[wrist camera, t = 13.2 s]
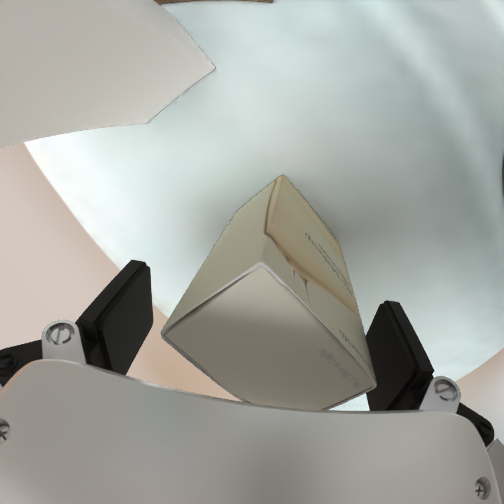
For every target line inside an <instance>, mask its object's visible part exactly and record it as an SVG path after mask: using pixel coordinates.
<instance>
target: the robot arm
mask: <svg viewBox="0 0 504 504" xmlns="http://www.w3.org/2000/svg"><path fill="white" fill-rule="evenodd" d="M152 325H153V309H152V294H151V274H150V267H149V266H147V265H146V263H145V262H142V261H137V260H131V261H130V262H129V263H128V264H127V265H126V266H125V267H124V268H123V269H122V270H121V271H120V273H119V274H118V275H117V276H116V277H115V278H114V279H113V280H112V281H111V282H110V283H109V284H108V285H107V286H106V288H105V289H104V290H103V291H102V292H101V293H100V294H99V295H98V297H97V298H96V299H95V300H94V301H93V302H92V303H91V305H90V306H89V307H88V308H87V309H86V310H85V311H84V312H83V314H82V315H81V316H80V317H79V319H78V320H77V321H76V322H75V323H74V322H71V321H69V320H57V321H54V322H52V323H50V324H49V325H47V326H46V327H45V328H44V330H43V332H42V339H41V340H37V341H33V342H29V343H25V344H21V345H17V346H13V347H9V348H5V349H2V350H0V504H504V445H503V444H502V443H501V442H500V441H499V440H498V439H496V440H495V441H494V429H493V427H492V425H491V423H490V422H489V421H488V420H487V419H485V418H483V417H482V416H480V415H479V414H477V413H476V412H474V411H473V410H471V409H470V408H468V407H466V406H465V405H463V404H462V403H460V402H459V401H460V397H461V393H460V389H459V387H458V386H457V384H456V383H455V382H454V381H452V380H451V379H449V378H447V377H444V376H438V377H435V378H434V377H433V375H432V374H433V372H434V369H433V367H432V365H431V363H430V360H429V358H428V356H427V354H426V352H425V350H424V348H423V346H422V344H421V342H420V340H419V338H418V336H417V334H416V333H415V331H414V329H413V327H412V325H411V323H410V321H409V319H408V318H407V316H406V314H405V312H404V310H403V308H402V307H401V305H400V303H399V302H395V301H385V302H384V303H383V304H380V305H379V308H378V310H377V312H376V314H375V317H374V319H373V321H372V324H371V326H370V328H369V330H368V332H367V334H366V341H367V345H368V349H369V353H370V358H371V362H372V366H373V370H374V374H375V378H376V383H377V386H376V388H374V389H373V390H371V391H369V392H366V395H367V400H368V404H369V409H370V411H335V410H314V409H300V408H288V407H278V406H269V405H261V404H254V403H247V402H240V401H234V400H228V399H222V398H216V397H211V396H205V395H201V394H196V393H191V392H187V391H182V390H178V389H174V388H170V387H166V386H162V385H158V384H154V383H151V382H147V381H143V380H140V379H136V378H132V377H129V376H126V373H127V372H128V370H129V368H130V366H131V364H132V362H133V360H134V358H135V357H136V355H137V353H138V351H139V349H140V347H141V346H142V344H143V342H144V340H145V338H146V337H147V335H148V333H149V331H150V329H151V327H152Z"/></svg>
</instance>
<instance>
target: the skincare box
mask: <svg viewBox="0 0 504 504" xmlns="http://www.w3.org/2000/svg"><path fill="white" fill-rule="evenodd" d="M161 336H162V338H163V339H164V340H165V341H166V342H167V343H168V344H170V345H171V346H172V347H173V348H175V350H177V351H178V352H179V353H180V354H181V355H182V356H183V357H185V358H186V359H187V360H188V361H190V362H191V363H192V364H193V365H194V366H195V367H197V368H198V369H200V370H201V371H202V372H203V373H204V374H206V375H207V376H209V377H210V378H211V379H212V380H213V381H214V382H216V383H217V384H218V385H219V386H221V387H222V388H224V389H225V390H226V391H228V392H229V393H230V394H232V395H233V396H235V397H236V398H238V399H240V400H241V401H243V402H247V403H254V404H261V405H269V406H278V407H288V408H300V409H314V410H329V409H331V408H334V407H336V406H338V405H341V404H343V403H345V402H348V401H349V400H351V399H354V398H356V397H358V396H360V395H362V394H364V393H366V392H369V391H371V390H373V389H374V388H376V386H377V383H376V378H375V374H374V370H373V366H372V362H371V358H370V353H369V349H368V345H367V341H366V337H365V333H364V329H363V325H362V321H361V318H360V314H359V310H358V306H357V303H356V299H355V296H354V292H353V288H352V285H351V281H350V278H349V275H348V271H347V268H346V264H345V261H344V258H343V255H342V252H341V248H340V245H339V243H338V241H337V240H336V239H335V237H334V236H333V235H332V233H331V232H330V231H329V229H328V228H327V226H326V225H325V224H324V222H323V221H322V220H321V219H320V217H319V216H318V215H317V213H316V212H315V211H314V210H313V208H312V207H311V206H310V205H309V204H308V202H307V201H306V200H305V199H304V198H303V196H302V195H301V194H300V193H299V192H298V190H297V189H296V188H295V187H294V186H293V185H292V183H291V182H290V181H289V180H288V179H287V178H286V177H285V176H284V175H281V176H280V177H278V178H277V179H276V180H274V181H273V182H272V183H270V184H269V185H268V186H267V187H265V188H264V189H263V190H262V191H260V192H259V193H258V194H257V195H256V196H254V197H253V198H252V199H251V200H249V201H248V202H247V203H246V204H245V205H244V206H242V207H241V208H240V209H239V210H238V211H237V212H236V213H235V215H234V216H233V218H232V219H231V221H230V222H229V224H228V225H227V227H226V228H225V230H224V232H223V233H222V235H221V236H220V238H219V239H218V241H217V242H216V244H215V246H214V247H213V249H212V250H211V252H210V254H209V255H208V257H207V258H206V260H205V261H204V263H203V264H202V266H201V267H200V269H199V271H198V272H197V274H196V276H195V277H194V279H193V281H192V282H191V284H190V285H189V287H188V289H187V290H186V292H185V293H184V295H183V297H182V298H181V300H180V302H179V303H178V305H177V306H176V308H175V310H174V311H173V313H172V315H171V316H170V318H169V319H168V321H167V323H166V324H165V326H164V327H163V329H162V331H161Z"/></svg>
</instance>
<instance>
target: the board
mask: <svg viewBox="0 0 504 504" xmlns="http://www.w3.org/2000/svg"><path fill="white" fill-rule="evenodd" d="M154 1H155V2H156V3H158V4H165V3H174V2H186V1H205V0H154ZM241 1H259V2H271V3H273V0H241Z"/></svg>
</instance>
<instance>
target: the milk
mask: <svg viewBox="0 0 504 504" xmlns="http://www.w3.org/2000/svg"><path fill="white" fill-rule="evenodd" d="M214 69H215V66H214V65H213V63H212V62H211V61H210V60H209V58H208V57H207V56H206V55H205V54H204V52H203V51H202V50H201V49H200V47H199V46H198V45H197V44H196V43H195V41H194V40H193V39H192V38H191V37H190V36H189V34H188V33H187V32H186V31H185V30H184V29H183V27H182V26H181V25H180V24H179V23H178V22H177V21H176V20H175V18H174V17H173V16H172V15H171V14H170V13H169V12H168V11H167V10H165V9H164V8H163V7H162V6H160V5H159V4H158V3H156V2H155V1H154V0H0V148H2V147H6V146H9V145H13V144H17V143H21V142H25V141H30V140H34V139H39V138H43V137H48V136H53V135H59V134H64V133H70V132H76V131H83V130H90V129H97V128H105V127H114V126H124V125H135V124H146V123H148V122H149V121H150V120H151V119H152V118H153V117H154V116H156V115H157V114H158V113H159V112H160V111H161V110H162V109H164V108H165V107H166V106H167V105H168V104H170V103H171V102H172V101H173V100H174V99H176V98H177V97H178V96H179V95H181V94H182V93H183V92H184V91H186V90H187V89H188V88H190V87H191V86H192V85H194V84H195V83H196V82H198V81H199V80H200V79H202V78H203V77H204V76H206V75H207V74H209V73H210V72H211V71H213V70H214Z"/></svg>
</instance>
